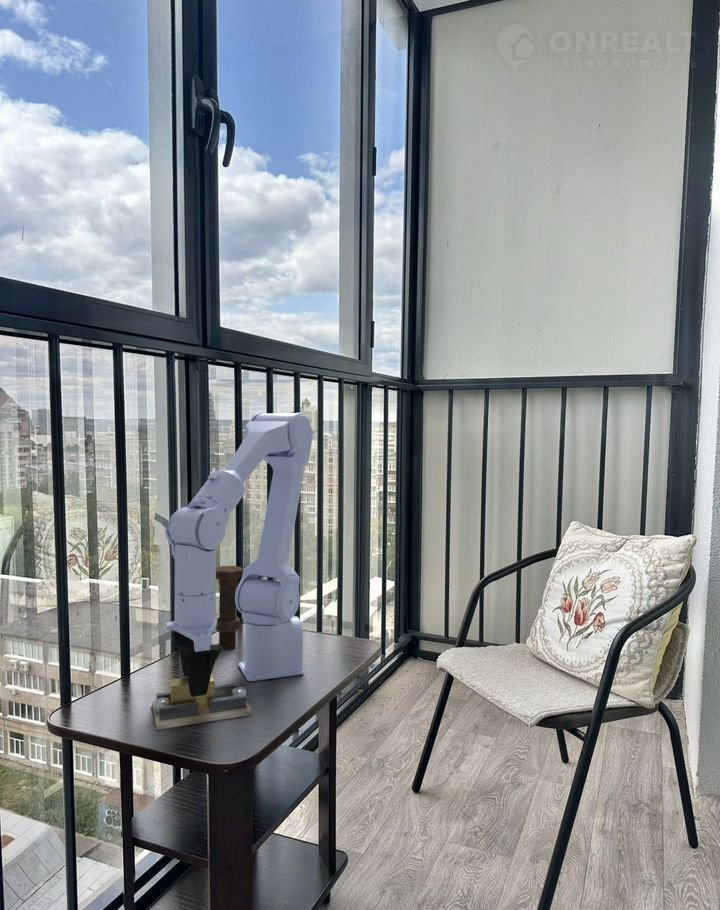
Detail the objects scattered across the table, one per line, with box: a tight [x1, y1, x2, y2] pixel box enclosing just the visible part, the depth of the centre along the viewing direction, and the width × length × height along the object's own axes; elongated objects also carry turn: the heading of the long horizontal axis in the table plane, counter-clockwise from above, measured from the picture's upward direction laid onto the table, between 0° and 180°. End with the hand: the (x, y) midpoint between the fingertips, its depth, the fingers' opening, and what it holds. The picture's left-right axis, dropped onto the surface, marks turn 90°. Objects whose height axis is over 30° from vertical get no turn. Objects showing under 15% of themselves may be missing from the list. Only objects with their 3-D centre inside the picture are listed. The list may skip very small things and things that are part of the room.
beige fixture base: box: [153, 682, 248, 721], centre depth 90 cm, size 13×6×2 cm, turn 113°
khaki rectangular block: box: [169, 673, 216, 711], centre depth 89 cm, size 6×3×4 cm, turn 113°
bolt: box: [215, 565, 244, 651], centre depth 117 cm, size 6×5×15 cm
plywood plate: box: [151, 696, 253, 730], centre depth 90 cm, size 13×8×1 cm, turn 112°
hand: (194, 684), depth 90 cm, fingers open, 7 cm apart
